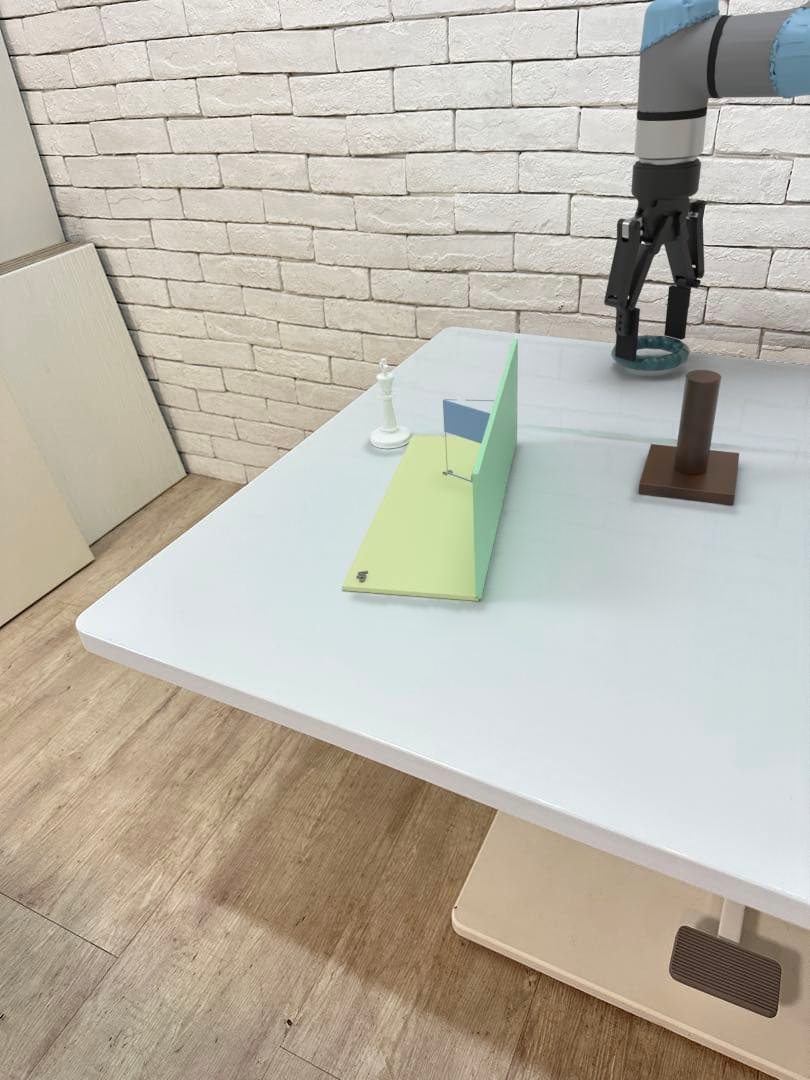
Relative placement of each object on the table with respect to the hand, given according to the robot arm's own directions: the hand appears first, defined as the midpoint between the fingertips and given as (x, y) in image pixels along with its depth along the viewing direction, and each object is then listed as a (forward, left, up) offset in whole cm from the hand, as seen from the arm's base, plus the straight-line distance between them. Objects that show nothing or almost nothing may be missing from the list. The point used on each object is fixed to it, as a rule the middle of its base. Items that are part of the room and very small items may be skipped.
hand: (650, 347), depth 104 cm
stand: (-8, +27, -4) cm, 28 cm away
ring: (0, 0, -1) cm, 1 cm away
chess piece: (+26, +26, -4) cm, 37 cm away
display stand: (+15, +39, -4) cm, 42 cm away
